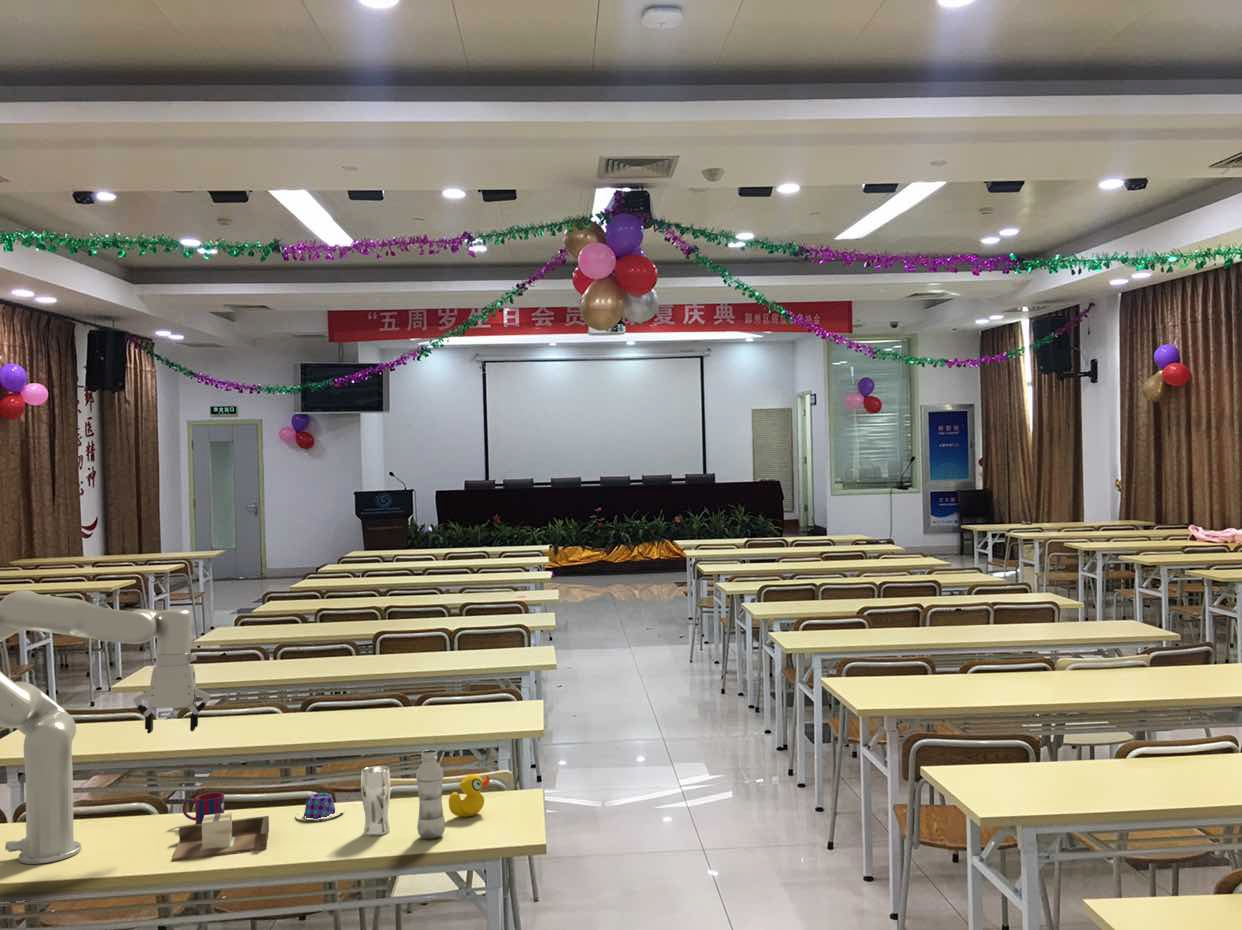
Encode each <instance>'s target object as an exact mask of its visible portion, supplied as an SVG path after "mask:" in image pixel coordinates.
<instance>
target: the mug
mask: <svg viewBox="0 0 1242 930" xmlns="http://www.w3.org/2000/svg"><path fill="white" fill-rule="evenodd" d="M187 802H193V803H194V804H195V816H191V815H189V813H188V812H187V810H186V804H187ZM182 812H183V815H184V816H185V817H186V818H187V819H188V820H192V821H195V825H196V824H202V821H203V818H204V815H212V814H217V813H225V794H224V793H223V792H207V793H203V794H198V795H197V796H196V797H195V798H188V799H186V800H184V802H183V804H182Z"/></svg>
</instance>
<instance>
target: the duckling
mask: <svg viewBox="0 0 1242 930" xmlns="http://www.w3.org/2000/svg"><path fill="white" fill-rule="evenodd" d="M490 781H491V777H490V776H489V775H486V777H484V778H483V779H482V777H481V776H480V775H479V774H474V773H471V774H468V775H466V776H465V777H464V778H463V779H462V781H461V782H460V783H459V788H460V789H461V791H462V792H463V794H465V795H466V796H465V797H464V798H463V799H462V798H461V796H460V794H459V793H458V792H456V791H453V792H452V793H451V794H450V796H449V797H448V807H449V808H448V809H449V811H450V813H452V815H455V816H457V817H460V818H466V817H467V818H468V817H473V816H476V815H477V814H478V813H480V812H481V811H482V809H483V807H484V805H485V798H484V796H483V795H482V793H481V791H482V790H484V789H485V788H487V787H488V786H489V784H490Z"/></svg>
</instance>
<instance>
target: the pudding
mask: <svg viewBox="0 0 1242 930" xmlns="http://www.w3.org/2000/svg"><path fill="white" fill-rule="evenodd" d="M304 810H305V812H304V816H306V818H313V819H318V818H321V817H327V816H329V815H330V814H334V813H335V810H336V809H335V803H334V799H333V796H332V794H331V793H328V792H318V793H314V794H311V795H310V796H309V797H307V799H306V802H305V808H304ZM297 814H298V813H296V815H295V819H297V820H300V819H298V818H297ZM330 818H331V817H330ZM330 818H329V819H328V820H330ZM300 821H301V820H300ZM302 821H304V822H305V821H306V820H302ZM317 821H318V822H320V821H319V820H316V821H315V822H317ZM323 821H326V819H323ZM306 822H307V821H306Z"/></svg>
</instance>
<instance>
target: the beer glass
mask: <svg viewBox="0 0 1242 930" xmlns="http://www.w3.org/2000/svg"><path fill="white" fill-rule="evenodd" d="M391 785H392V784H391V774H390V767H388V766H385V765H375V766H369V767H365V768H363V769H361V776H360V794H361V796H360V797H361V801H362V807H363V811H364V821H365V822H364V828H363V835H365V836H367V837H380V836H384V834H385V835H387V834H388V833H390V830H391V828H390V824H389V808H390V807H389V806H390V800H391V799H390V797H391V790H392V789H391ZM386 833H387V834H386Z"/></svg>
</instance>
